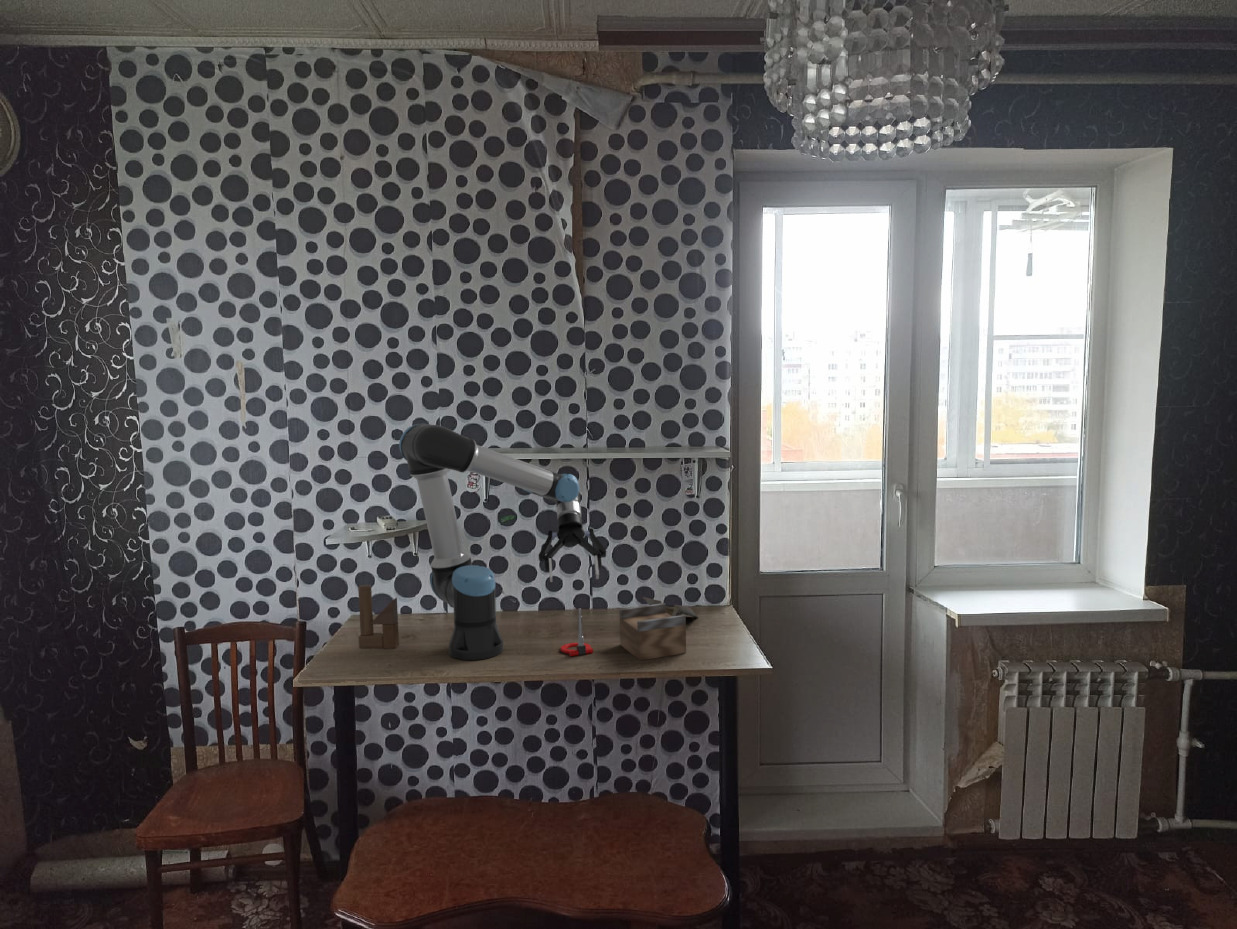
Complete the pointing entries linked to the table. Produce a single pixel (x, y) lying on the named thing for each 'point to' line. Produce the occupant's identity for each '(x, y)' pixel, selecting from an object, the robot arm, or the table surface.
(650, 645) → the open wooden crate
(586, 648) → the tow hook
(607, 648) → the table surface
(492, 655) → the robot arm
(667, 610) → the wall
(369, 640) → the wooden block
